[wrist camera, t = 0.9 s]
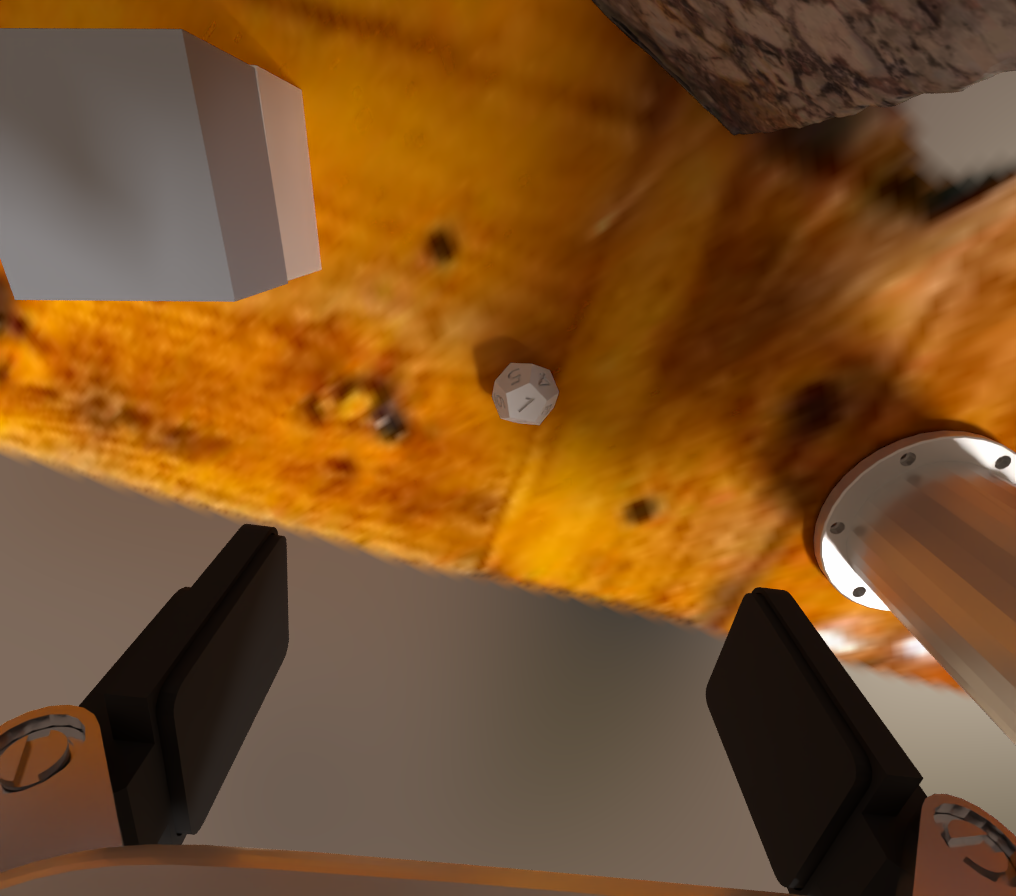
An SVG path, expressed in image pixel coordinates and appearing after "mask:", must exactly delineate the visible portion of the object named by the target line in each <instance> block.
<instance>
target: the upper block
mask: <svg viewBox="0 0 1016 896" xmlns="http://www.w3.org/2000/svg"><path fill="white" fill-rule="evenodd" d="M0 259H1V261H2V264H3V267H4V270H5V273H6V275H7V278H8V281H9V284H10V287H11V289H12V292H13V295H14V298H15V300H113V301H238V300H241V299H244V298H247V297H250V296H252V295H255V294H258V293H261V292H264V291H267V290H270V289H273V288H276V287H279V286H282V285H285V284H287V283H288V280H287V273H286V267H285V260H284V254H283V247H282V241H281V234H280V228H279V221H278V215H277V209H276V202H275V196H274V189H273V183H272V176H271V170H270V163H269V157H268V151H267V144H266V138H265V131H264V125H263V118H262V112H261V105H260V99H259V92H258V86H257V80H256V73H255V68H254V67H252V66H250V65H249V64H247V63H245V62H243V61H241V60H239V59H237V58H235V57H233V56H232V55H230V54H228V53H226V52H224V51H222V50H220V49H218V48H216V47H215V46H213V45H211V44H209V43H207V42H205V41H203V40H201V39H199V38H198V37H196V36H194V35H192V34H190V33H188V32H186V31H184V30H183V29H38V28H0Z"/></svg>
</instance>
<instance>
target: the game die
mask: <svg viewBox="0 0 1016 896" xmlns="http://www.w3.org/2000/svg"><path fill="white" fill-rule="evenodd" d="M558 394H559V390H558V388H557V386H556V383H555V381H554V379H553V376H552V374H551V372H550V370H548V369H546V368H543V367H540V366H537V365H534V364H528V363H510V364H509V365H508V366H507V367H506V369H505V370H504V371H503V372H502V373H501V374H500V375H499V377H498V378H497V379H496V380H495V383H494V388H493V393H492V398H493V401H494V403H495V406H496V408H497V411H498V413H499V416H500V418H501V419H504V420H508V421H512V422H516V423H522V424H532V425H540V424H541V423H542V421H543V420H544V419H545V418H546V417H547V415H548V414H549V413H550V412H551V410H552V409H553V408H554V406H555V403H556V400H557V397H558Z"/></svg>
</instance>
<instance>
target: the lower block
mask: <svg viewBox="0 0 1016 896" xmlns="http://www.w3.org/2000/svg"><path fill="white" fill-rule="evenodd" d="M250 66H252V67H254V68H255V73H256V80H257V86H258V92H259V99H260V105H261V112H262V118H263V125H264V131H265V138H266V144H267V151H268V157H269V163H270V170H271V176H272V183H273V189H274V196H275V202H276V209H277V215H278V221H279V228H280V234H281V241H282V247H283V254H284V260H285V267H286V273H287V280H291V279H294V278H298V277H301V276H304V275H307V274H310V273H313V272H316V271H319V270H322V269H321V260H320V251H319V242H318V233H317V224H316V214H315V205H314V196H313V187H312V178H311V169H310V160H309V151H308V142H307V133H306V124H305V115H304V106H303V97H302V90H301V89H299V88H297V87H295V86H293V85H292V84H290V83H288V82H286V81H284V80H282V79H281V78H279V77H277V76H275V75H273V74H271V73H270V72H268V71H266V70H264V69H262V68H260V67H259V66H257V65H250Z"/></svg>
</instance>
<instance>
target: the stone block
mask: <svg viewBox="0 0 1016 896" xmlns="http://www.w3.org/2000/svg"><path fill="white" fill-rule="evenodd" d="M592 1H593V2H594V3H595V4H596V5H597V6H598V8H599V9H600V10H601V11H602V12H603V13H604V14H605V15H606V16H607V17H608V18H609V19H610V20H611V21H612V22H613V23H614V24H615V25H616V26H617V27H618V28H619V29H621V30H622V31H623V32H624V33H625V34H626V35H627V36H628V37H629V38H630V39H631V40H632V41H633V42H635V43H636V44H637V45H639V46H640V47H641V48H642V49H644V50H645V51H646V52H647V53H648V54H649V55H650V56H651V57H652V58H653V59H654V60H656V61H657V62H658V63H659V64H660V65H661V66H662V67H663V68H664V69H665V70H666V71H667V72H668V73H669V74H670V75H671V76H672V77H673V78H674V79H676V80H677V81H678V82H679V83H680V84H681V85H682V86H683V87H684V88H685V89H686V90H687V91H688V92H689V93H690V94H691V95H692V96H693V97H694V98H695V99H696V100H697V101H698V102H699V103H700V104H701V105H702V106H703V107H704V108H705V109H706V110H708V111H709V112H710V113H711V114H712V115H714V116H715V117H716V118H717V119H718V120H719V121H720V122H721V123H722V124H723V125H724V126H725V127H726V128H727V129H728V130H729V131H730V132H731V133H732V134H733V135H737V134H753V133H759V132H763V133H768V132H769V133H771V132H775V131H778V130H780V129H786V128H790V127H795V128H802V127H805V126H808V125H811V124H813V123H820V122H822V121H825V120H828V119H831V118H833V117H838V118H840V117H845V116H849V115H855V114H857V113H859V112H860V111H862V110H863V109H865V108H866V107H868V106H869V105H871V106H878V107H891V106H896V105H898V104H900V103H903V102H905V101H907V100H909V99H911V98H913V97H915V96H918V95H920V94H923V93H952V92H960V91H963V90H964V89H966V88H968V87H969V86H971V85H973V84H975V83H977V82H980V81H983V80H985V79H988V78H990V77H993V76H995V75H996V74H999V73H1002V72H1007V71H1016V0H592Z"/></svg>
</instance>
